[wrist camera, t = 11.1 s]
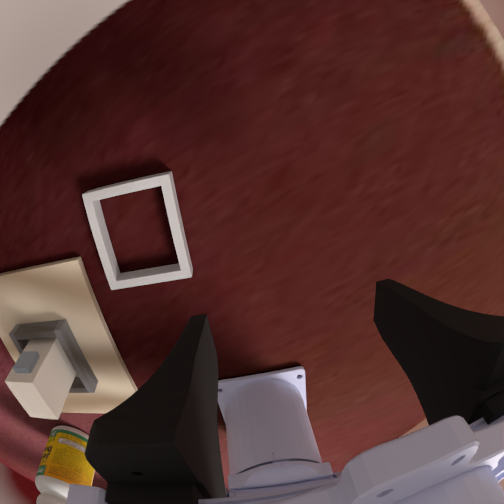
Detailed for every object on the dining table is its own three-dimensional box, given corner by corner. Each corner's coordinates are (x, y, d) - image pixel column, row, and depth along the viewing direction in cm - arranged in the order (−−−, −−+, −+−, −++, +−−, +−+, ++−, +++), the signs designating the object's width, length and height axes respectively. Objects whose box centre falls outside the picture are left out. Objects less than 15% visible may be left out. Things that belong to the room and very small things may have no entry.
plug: (78, 369, 24) (58, 419, 18) (52, 369, 24) (30, 416, 18) (57, 327, 22) (28, 377, 16) (31, 329, 22) (1, 376, 16)
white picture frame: (192, 269, 22) (191, 277, 21) (115, 281, 22) (111, 290, 20) (171, 170, 19) (168, 174, 18) (88, 190, 19) (81, 194, 18)
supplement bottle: (96, 458, 31) (83, 531, 20) (51, 439, 29) (30, 510, 19) (103, 437, 29) (87, 521, 18) (52, 416, 27) (26, 496, 17)
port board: (147, 407, 27) (144, 423, 25) (50, 407, 26) (44, 421, 24) (80, 256, 20) (69, 269, 19) (-23, 278, 20) (-36, 290, 18)
